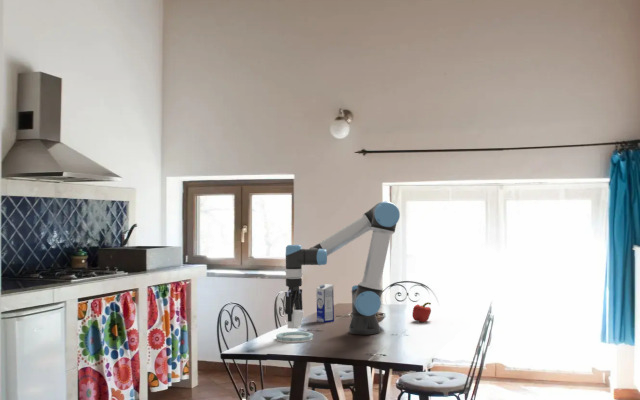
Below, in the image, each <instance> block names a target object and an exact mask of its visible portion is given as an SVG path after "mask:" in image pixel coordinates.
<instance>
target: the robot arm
mask: <svg viewBox="0 0 640 400" xmlns="http://www.w3.org/2000/svg"><path fill="white" fill-rule="evenodd" d="M400 216H401V213H400V209H399V207H398V206H397V205H396V204H395V203H393V202H391V201H386V200H385V201H381V202H378V203H376V204H375V205H374V206H373V207H371V208H370V209H369V210H368V211H366V212H364V213H363V214H362V217H360V218H358V219H357V220H355V221H353V222H352V223H350V224H349V225H346V226H345V227H343V228H342V229H340V230H338V231H336V232H335V233H334V234H332V235H330V236H329V237H327V238H325V239H324V240H322V241H321V242H319V243H317V244H315V245H314V246H312V247H310V248H303V247H302V245H301V244H288V245H287V246H286V247H285V270H284V271H285V286H286V287H288V290H287V291H285V292H284V293H285V294H284V295H285V303H284V304H285V305H284V307H285V309H284V315H285V314H286V315H287V323H288V325H287V329H292V330H293V328H294V314H293V310H303V289H302V288H300V287H302V285H303V281H302V280H303V279H302V277H303V272H302V271H303V266H321V265H322V266H323V265H324V266H325V265H327V263H328V256H330V255H332V254H333V253H335V252H337V251H338V250H340V249H341V248H343V247H345V246H346V245H348V244H350V243H351V242H353V241H355V240H357V239H359V238H360V237H361V236H364V235H365V234H366V233H369V232H370V231H372V233H371V239H370V242H369V249H368V252H367V257H366V261H365V267H364V271H363V277H362V280H361V281H360V282H359V283H358V284H356V285H355V284H354V285H353V286H352V287H351V291H350V293H351V308H352V310H351V311H352V312H351V316H352V317H351V320H350V322H349V323H350V324H349V327H348V331H349V333H350V334H353V335H363V336H364V335H366V336H367V335H376V334H379V333H380V332H381V328H380V325H379V321H378V318H377V313H378V312H379V310H380V308H381V306H382V300H381V299H382V293H383V288H382V285H381V282H382V278H383V277H382V276H383V274H384V273H383V272H384V268H385V263H386V259H387V254H388V249H389V244H390V240H391V236H392V235H393V234H395V232H396V229H397V228H396V227H397V223H398V222H399V220H400Z"/></svg>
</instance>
